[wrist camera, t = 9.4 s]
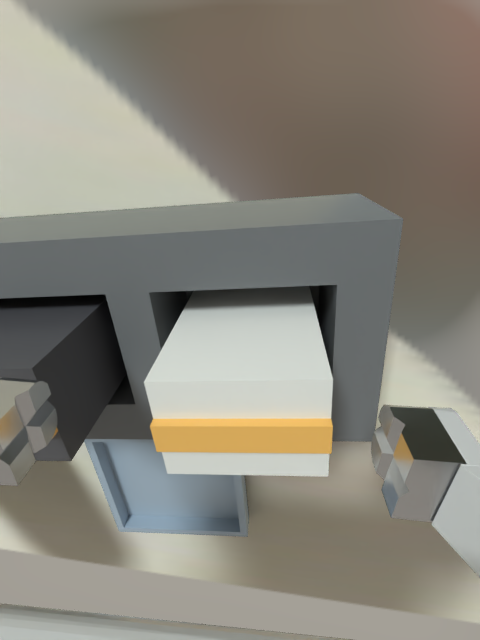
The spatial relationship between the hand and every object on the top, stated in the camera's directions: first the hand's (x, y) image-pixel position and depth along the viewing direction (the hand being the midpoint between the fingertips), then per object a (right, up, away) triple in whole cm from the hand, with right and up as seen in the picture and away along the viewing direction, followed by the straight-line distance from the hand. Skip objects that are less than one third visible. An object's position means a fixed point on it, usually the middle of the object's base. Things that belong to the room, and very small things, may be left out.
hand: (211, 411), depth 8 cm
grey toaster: (-3, +4, +10) cm, 11 cm away
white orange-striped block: (+1, +3, +8) cm, 9 cm away
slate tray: (-4, -9, +17) cm, 19 cm away
